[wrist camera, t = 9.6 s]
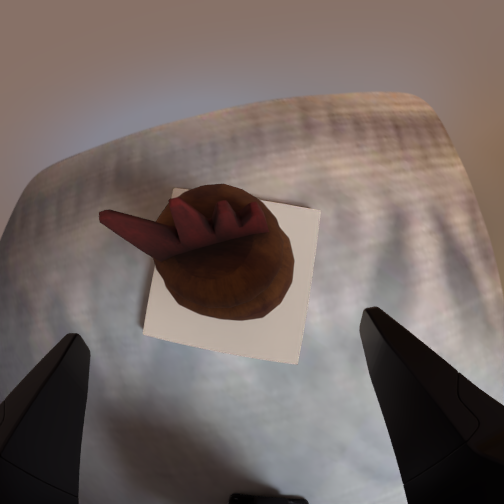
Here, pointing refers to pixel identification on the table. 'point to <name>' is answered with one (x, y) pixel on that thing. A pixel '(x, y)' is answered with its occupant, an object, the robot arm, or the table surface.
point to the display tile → (256, 330)
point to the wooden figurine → (215, 251)
